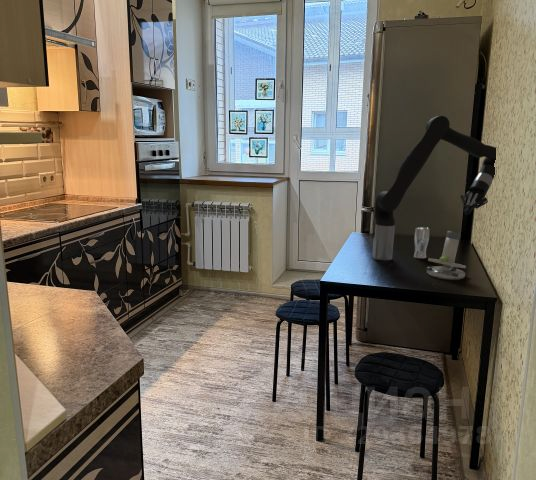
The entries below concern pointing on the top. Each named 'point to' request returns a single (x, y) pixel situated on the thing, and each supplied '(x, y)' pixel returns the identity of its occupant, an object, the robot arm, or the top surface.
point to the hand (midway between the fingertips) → (466, 213)
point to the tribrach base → (446, 272)
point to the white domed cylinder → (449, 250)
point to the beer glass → (421, 242)
